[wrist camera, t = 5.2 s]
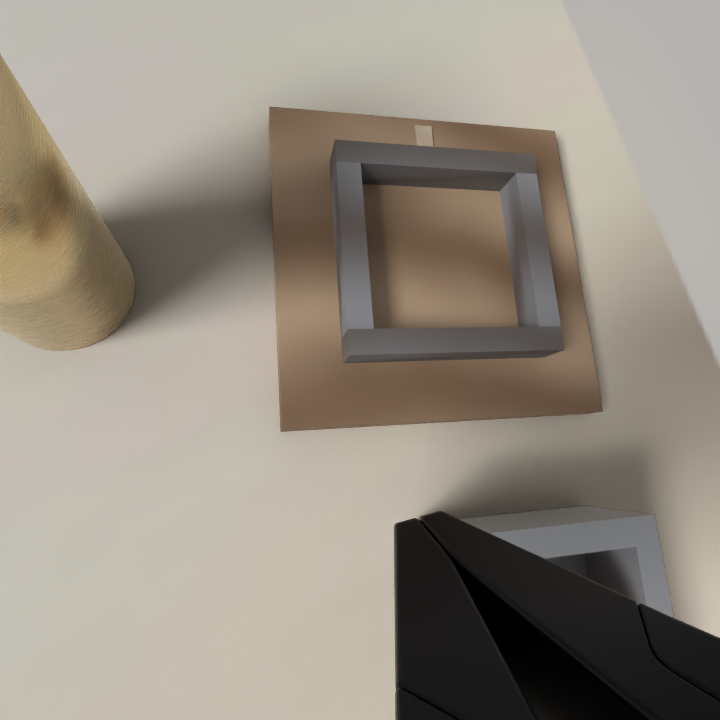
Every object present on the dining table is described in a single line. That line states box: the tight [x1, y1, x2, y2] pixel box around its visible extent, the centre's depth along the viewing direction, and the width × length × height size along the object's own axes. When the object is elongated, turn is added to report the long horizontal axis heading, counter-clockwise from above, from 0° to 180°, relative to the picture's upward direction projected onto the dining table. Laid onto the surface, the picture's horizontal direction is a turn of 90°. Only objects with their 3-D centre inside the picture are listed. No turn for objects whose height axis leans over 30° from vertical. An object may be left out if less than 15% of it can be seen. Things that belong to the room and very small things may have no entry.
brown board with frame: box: [269, 107, 603, 432], centre depth 21 cm, size 14×14×2 cm
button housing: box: [460, 506, 674, 618], centre depth 18 cm, size 8×8×4 cm
